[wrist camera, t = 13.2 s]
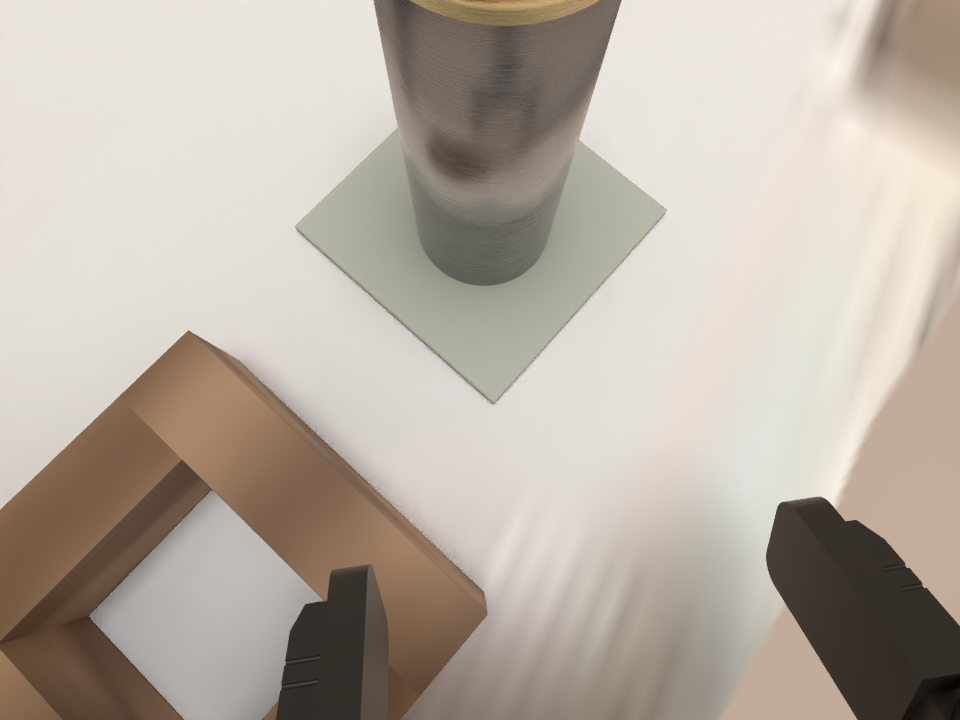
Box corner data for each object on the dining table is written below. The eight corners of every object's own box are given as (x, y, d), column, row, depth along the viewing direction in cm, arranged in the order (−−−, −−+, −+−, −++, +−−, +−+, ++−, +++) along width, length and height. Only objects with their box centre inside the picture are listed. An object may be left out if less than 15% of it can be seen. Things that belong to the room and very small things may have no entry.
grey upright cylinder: (382, 227, 23) (256, -166, 9) (478, 132, 24) (490, -352, 10) (489, 319, 22) (522, 40, 9) (583, 218, 23) (748, -178, 10)
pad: (297, 230, 23) (294, 226, 23) (472, 63, 25) (472, 56, 25) (493, 404, 22) (493, 402, 22) (663, 214, 24) (667, 210, 23)
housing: (-31, 623, 20) (-151, 654, 16) (237, 359, 22) (188, 330, 18) (220, 905, 19) (153, 1014, 15) (483, 592, 21) (487, 614, 17)
